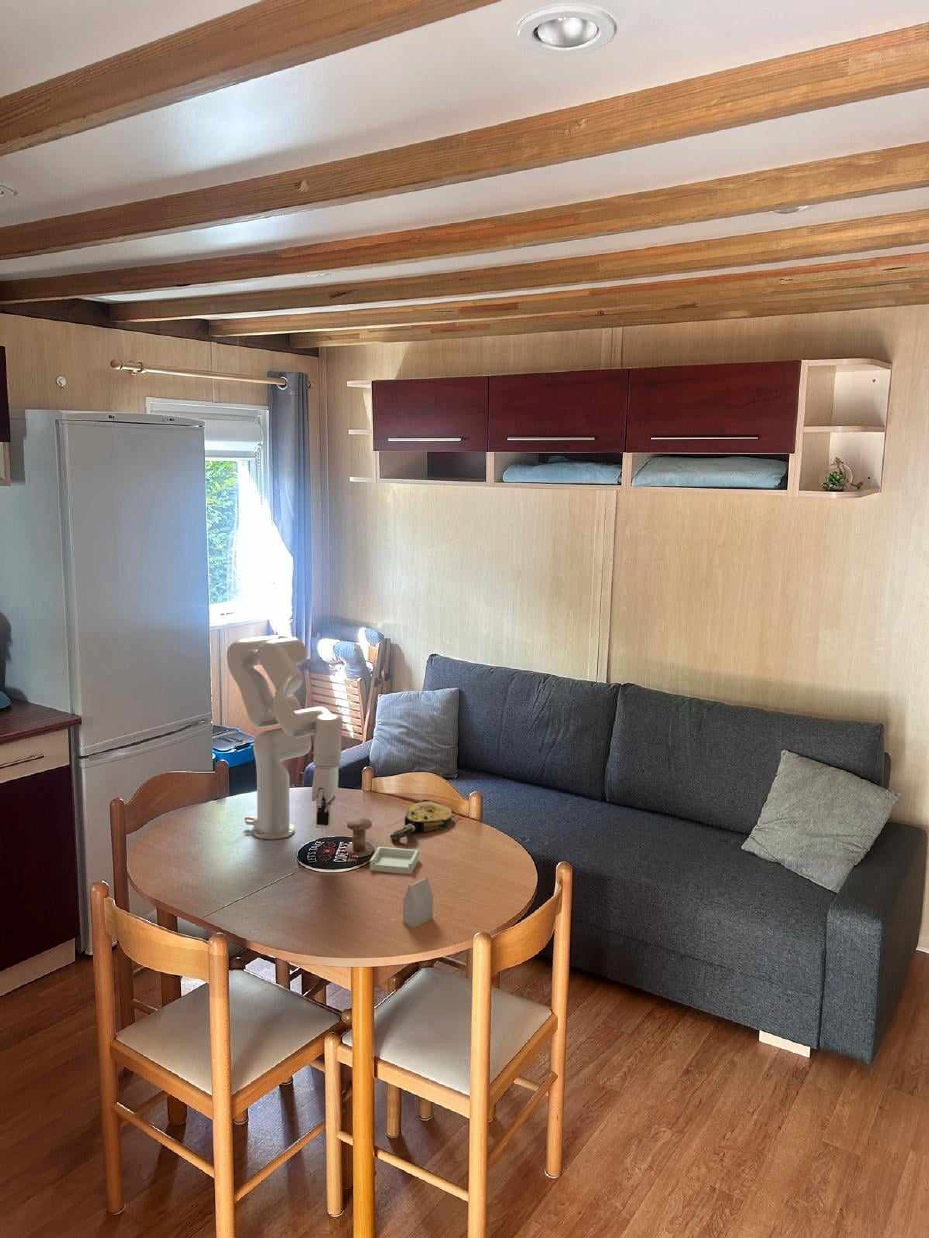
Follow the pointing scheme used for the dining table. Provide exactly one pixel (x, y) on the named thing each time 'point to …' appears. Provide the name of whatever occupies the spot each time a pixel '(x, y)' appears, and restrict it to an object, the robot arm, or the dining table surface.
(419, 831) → the pulley block
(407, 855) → the open tray
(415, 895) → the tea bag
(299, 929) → the dining table surface
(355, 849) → the knob
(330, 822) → the white grey rectangular block
